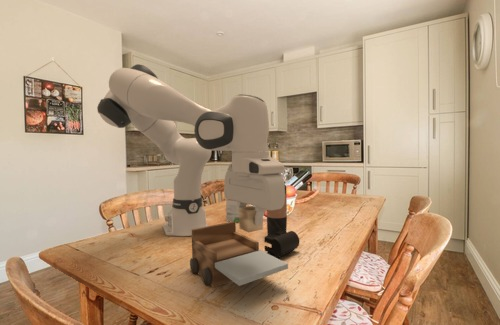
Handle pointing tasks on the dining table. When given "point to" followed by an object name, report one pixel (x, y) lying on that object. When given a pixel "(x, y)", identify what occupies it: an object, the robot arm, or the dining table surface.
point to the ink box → (232, 211)
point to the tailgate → (250, 267)
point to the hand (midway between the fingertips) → (251, 222)
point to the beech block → (248, 219)
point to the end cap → (281, 243)
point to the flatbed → (217, 250)
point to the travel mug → (277, 219)
